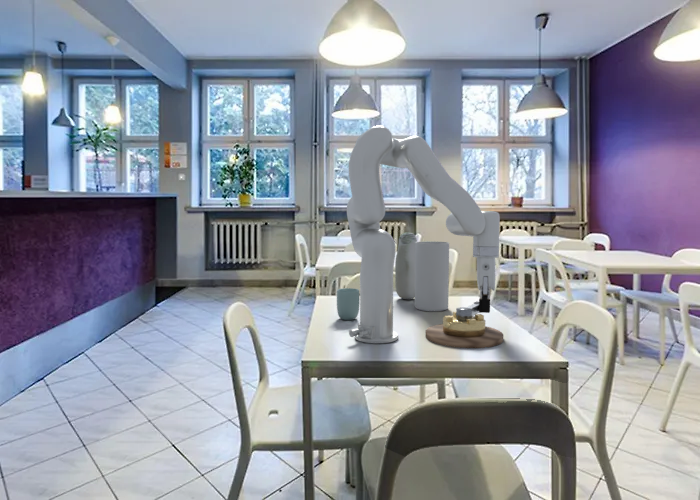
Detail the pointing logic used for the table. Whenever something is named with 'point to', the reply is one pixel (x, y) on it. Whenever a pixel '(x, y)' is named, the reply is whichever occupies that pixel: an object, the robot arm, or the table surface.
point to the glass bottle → (405, 266)
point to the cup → (348, 303)
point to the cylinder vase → (431, 275)
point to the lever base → (464, 338)
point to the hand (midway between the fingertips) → (484, 311)
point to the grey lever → (465, 322)
